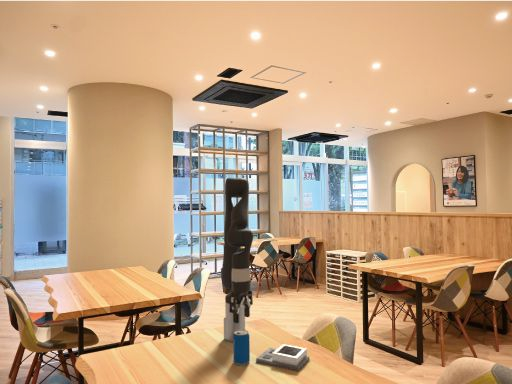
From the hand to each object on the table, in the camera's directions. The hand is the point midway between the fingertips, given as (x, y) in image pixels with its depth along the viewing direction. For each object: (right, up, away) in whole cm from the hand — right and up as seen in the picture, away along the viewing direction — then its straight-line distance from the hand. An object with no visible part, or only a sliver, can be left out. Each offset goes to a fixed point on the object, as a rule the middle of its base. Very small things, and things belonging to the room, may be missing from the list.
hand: (241, 319), depth 150 cm
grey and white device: (+17, -17, +1) cm, 24 cm away
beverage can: (0, -17, 0) cm, 17 cm away
